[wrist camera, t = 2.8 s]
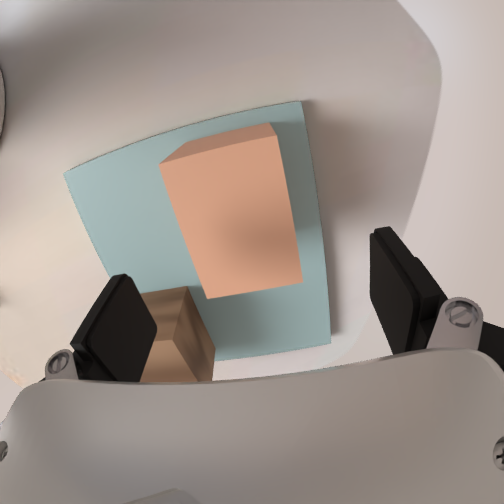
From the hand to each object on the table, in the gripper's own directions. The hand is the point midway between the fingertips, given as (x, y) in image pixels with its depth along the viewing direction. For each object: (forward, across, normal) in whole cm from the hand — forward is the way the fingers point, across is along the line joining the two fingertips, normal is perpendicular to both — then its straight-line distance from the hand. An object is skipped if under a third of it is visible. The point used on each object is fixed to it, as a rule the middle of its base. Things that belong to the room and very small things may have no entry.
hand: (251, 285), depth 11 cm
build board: (+11, +5, +5) cm, 14 cm away
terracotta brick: (+10, +1, -1) cm, 10 cm away
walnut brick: (+10, +10, +10) cm, 18 cm away
